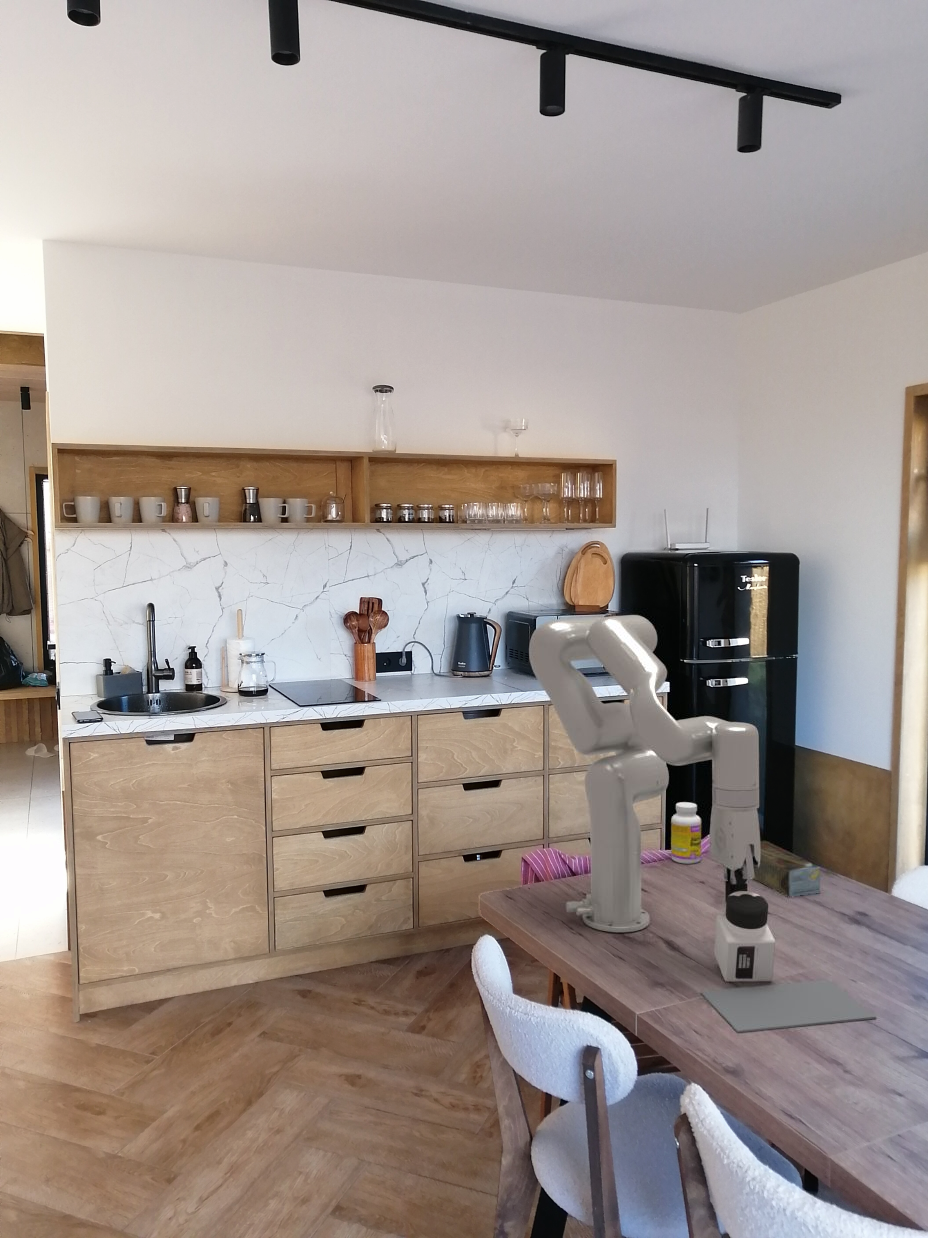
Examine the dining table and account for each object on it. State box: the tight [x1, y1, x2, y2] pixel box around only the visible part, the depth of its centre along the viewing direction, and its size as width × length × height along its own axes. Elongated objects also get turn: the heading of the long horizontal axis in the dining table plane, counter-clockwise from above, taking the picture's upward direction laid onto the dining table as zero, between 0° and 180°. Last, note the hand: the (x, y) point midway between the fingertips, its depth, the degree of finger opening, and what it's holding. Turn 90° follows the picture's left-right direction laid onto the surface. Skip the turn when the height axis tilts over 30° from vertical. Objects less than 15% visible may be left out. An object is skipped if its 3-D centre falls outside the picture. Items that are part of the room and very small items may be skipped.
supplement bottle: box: [670, 801, 702, 865], centre depth 219 cm, size 7×7×13 cm
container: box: [713, 890, 776, 983], centre depth 157 cm, size 8×8×13 cm
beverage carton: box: [753, 840, 821, 898], centre depth 204 cm, size 8×19×7 cm, turn 18°
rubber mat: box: [700, 979, 877, 1034], centre depth 147 cm, size 22×13×1 cm, turn 100°
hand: (736, 905), depth 161 cm, fingers closed
